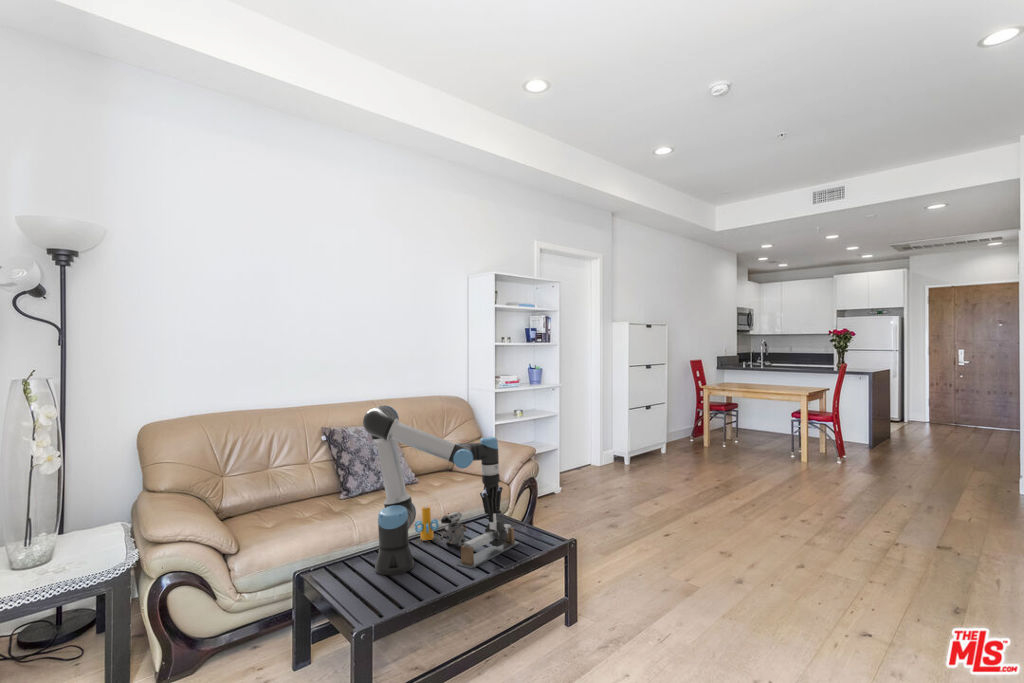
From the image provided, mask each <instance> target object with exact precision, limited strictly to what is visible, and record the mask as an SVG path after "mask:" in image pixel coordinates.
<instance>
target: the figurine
mask: <svg viewBox="0 0 1024 683" xmlns="http://www.w3.org/2000/svg"><path fill="white" fill-rule="evenodd" d="M462 515H463V514H462V513H461V512H460V511H454V512H451V513H449V512H448V513H447V514H446V515H443V516H442V518H441V519H440V523H441V524H442V525H443V524H446V525H447V526H445V527H444V532H443V533H441V536H440V539H441V542H442V541H443V540H444V537H445V536H446V544H445V545H446V546H451V545H457V549H458V550H461V546H463V545H464V543H465V542H467V541H466V538H465V532H467V527H466V524H465V523H464V522H462V523H460V519H461V518H462Z"/></svg>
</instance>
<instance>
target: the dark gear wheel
mask: <svg viewBox="0 0 1024 683" xmlns="http://www.w3.org/2000/svg"><path fill="white" fill-rule="evenodd" d="M496 524H497V531H498V532H499V538H497V539H495V540H493V541H491V542H489V543H488V544H490V545H491V546H496V547H498V546H501V545H503V544H504V542H505V541H506V539H507V531H505V529H506V528H505V527H504V524H503V522H501V521H498V520H496ZM491 530H492V529H490V525H489V523H487V525H486V526H485V528H484V534H485V533H487V532H489V531H491Z"/></svg>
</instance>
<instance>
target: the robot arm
mask: <svg viewBox="0 0 1024 683" xmlns="http://www.w3.org/2000/svg"><path fill="white" fill-rule="evenodd" d="M362 420H363V421H362V425H363V428H364V430H365V431H366V432H367V433H368V434H369V435H371V440H372V441H373V442H375V443H376V446H377V447H376V449H377V452H378V453H377V454H378V459H379V464H380V469H381V475H382V480H383V486H384V491H385V496H386V498H385V500H384V501H383V507H384V508H382V509H381V510H380V511H379V512H378V514H377V515H378V517H377V523H378V524H377V526H378V548H379V549H378V554H377V559H376V562H375V564H374V565H375V567H374V570H375V573H377V574H378V575H381V576H382V575H383V576H396V575H397V576H398V575H401V574H404V573H407V572H410V571H411V570H412V569H413V568H414V567H415V566H414V565H415V560H414V558H413V555H412V551H411V549H410V546H409V544H410V543H409V529H410V528H411V526H412V525H413V524H414V522H415V520H416V516H417V511H416V510H417V509H416V506H415V505H414V503H413V501H412V496H411V495H410V494H409V493H408V492H407V488H406V483H405V477H404V473H403V467H402V462H401V456H400V451H399V445H398V443H399V444H402V445H404V446H405V445H406V446H407V447H410V448H412V449H415V450H418V451H421V452H423V453H426V454H429V455H431V456H433V457H435V458H439V459H441V460H444V461H446V462H449V463H451V464H454V465H455V466H456V467H457V468H459V469H467V468H468V467H469V466H471V464H472V463H473V462H474V461H481V482H482V484H483V485H484V486H483V491H482V492H480V493H479V495H480V498H481V500H482V506H483V510H484V514H487V515H488V522H489V523H488V524H489V525H490V529H492V530H496V529H497V524H496V521H498V520H497V519H498V517H497V514H499V511H500V510H501V501H502V500H501V499H502V492H503V487H502V486H500V484H499V483H500V480H501V479H500V473H499V472H500V466H499V462H500V461H499V460H500V459H499V444H498V438H496V437H495V436H494V437H493V436H487V437H481V438H480V439H479V440H480V441H479V442H472V443H471V442H470V443H469V442H468V443H467V442H466V443H455V442H452V441H450V440H446V439H444V438H441V437H438V436H436V435H434V434H430V433H428V432H425V431H423V430H421V429H418V428H415V427H413V426H410V425H408V424H406V423H402V422H400V420H399V413H398V411H397V410H395V408H393V407H392V406H390V405H379V406H376V407H373V408H371V409H369V410H368V411H367V412H366V413H365V414H364V416H363V419H362Z"/></svg>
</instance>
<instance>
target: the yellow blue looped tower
mask: <svg viewBox="0 0 1024 683" xmlns="http://www.w3.org/2000/svg"><path fill="white" fill-rule="evenodd" d="M431 515H432V514H431V506H429V505H424V506H422V507H421V520H416V521H414V522H415V523H414V530H415V532H416V533H420V534H419V535H420V540H421V539H422V540H431V539H433V538H434V536H435V534H434V531H435V532H436V531H437V530H438V529H439V528H440V527H439V520H438V519H436V518H433V519H432V518H431ZM433 524H436V525H434V526H433ZM418 526H421V527H418ZM434 539H435V538H434ZM434 539H433V540H434Z"/></svg>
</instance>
